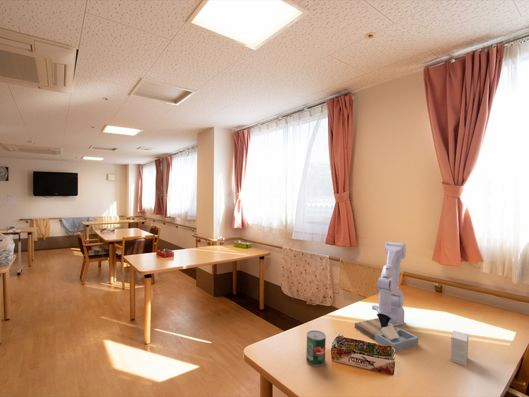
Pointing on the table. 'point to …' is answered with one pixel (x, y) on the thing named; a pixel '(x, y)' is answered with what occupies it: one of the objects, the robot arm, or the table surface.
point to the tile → (390, 333)
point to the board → (370, 327)
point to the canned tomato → (316, 348)
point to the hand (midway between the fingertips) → (384, 328)
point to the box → (398, 340)
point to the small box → (459, 347)
